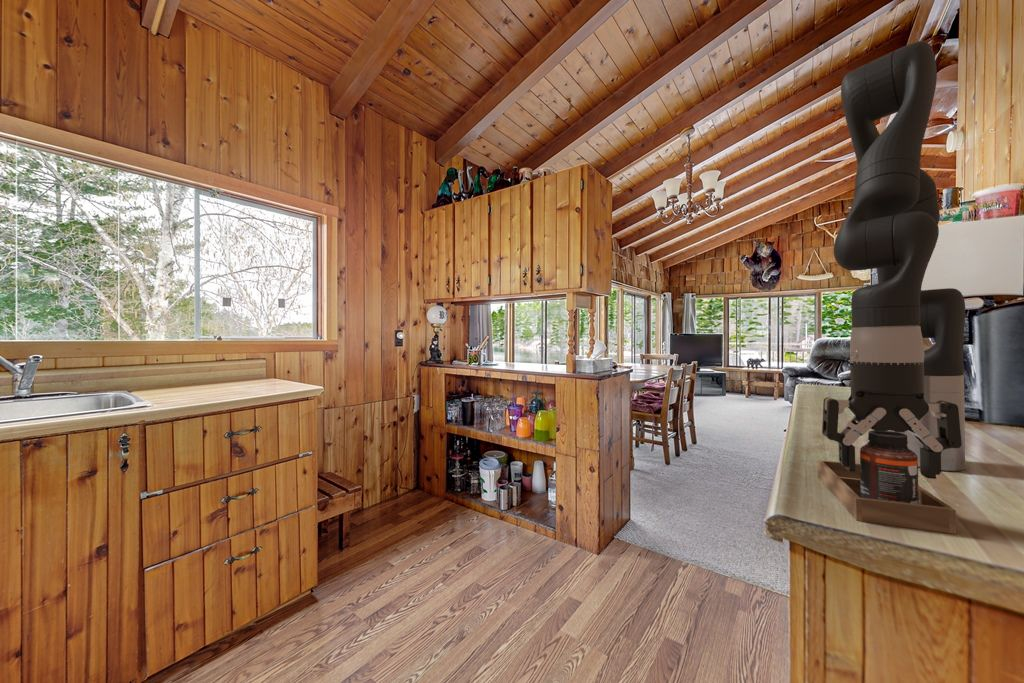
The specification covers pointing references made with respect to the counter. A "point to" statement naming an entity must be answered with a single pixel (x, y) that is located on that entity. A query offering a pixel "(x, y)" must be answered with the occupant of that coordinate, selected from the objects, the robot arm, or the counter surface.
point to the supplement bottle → (888, 468)
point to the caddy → (885, 502)
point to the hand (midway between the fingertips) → (887, 473)
